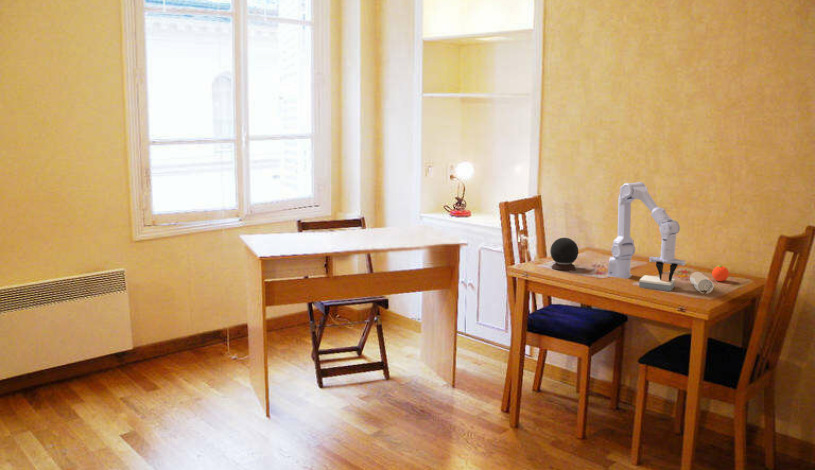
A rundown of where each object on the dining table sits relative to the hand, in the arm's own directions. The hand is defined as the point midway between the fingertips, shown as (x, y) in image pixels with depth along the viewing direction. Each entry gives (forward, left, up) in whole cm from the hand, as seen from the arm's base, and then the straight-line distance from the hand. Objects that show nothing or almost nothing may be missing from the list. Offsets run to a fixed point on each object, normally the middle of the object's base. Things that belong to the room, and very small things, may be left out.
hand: (665, 279), depth 325 cm
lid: (-3, 0, -1) cm, 4 cm away
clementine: (+19, +27, -4) cm, 33 cm away
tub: (-3, 0, -4) cm, 5 cm away
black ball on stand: (-49, +14, -4) cm, 52 cm away
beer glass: (+11, +14, -1) cm, 17 cm away
